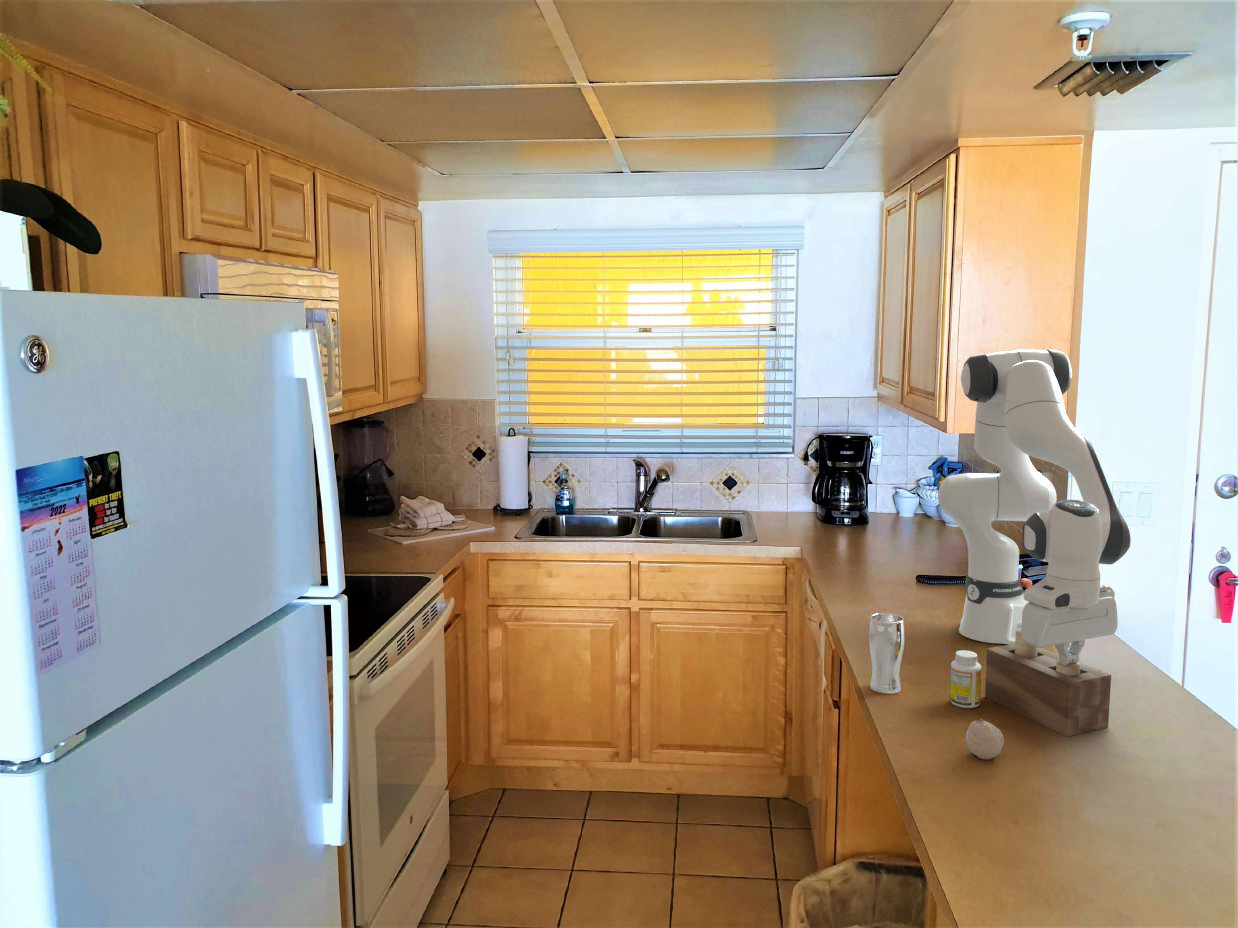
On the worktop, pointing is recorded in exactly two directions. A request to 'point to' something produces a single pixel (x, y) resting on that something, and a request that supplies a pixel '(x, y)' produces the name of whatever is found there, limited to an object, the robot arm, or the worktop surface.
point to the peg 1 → (1024, 647)
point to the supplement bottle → (965, 680)
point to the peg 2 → (1068, 668)
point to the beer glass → (886, 651)
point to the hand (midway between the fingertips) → (1068, 663)
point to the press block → (1048, 690)
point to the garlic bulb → (984, 739)
